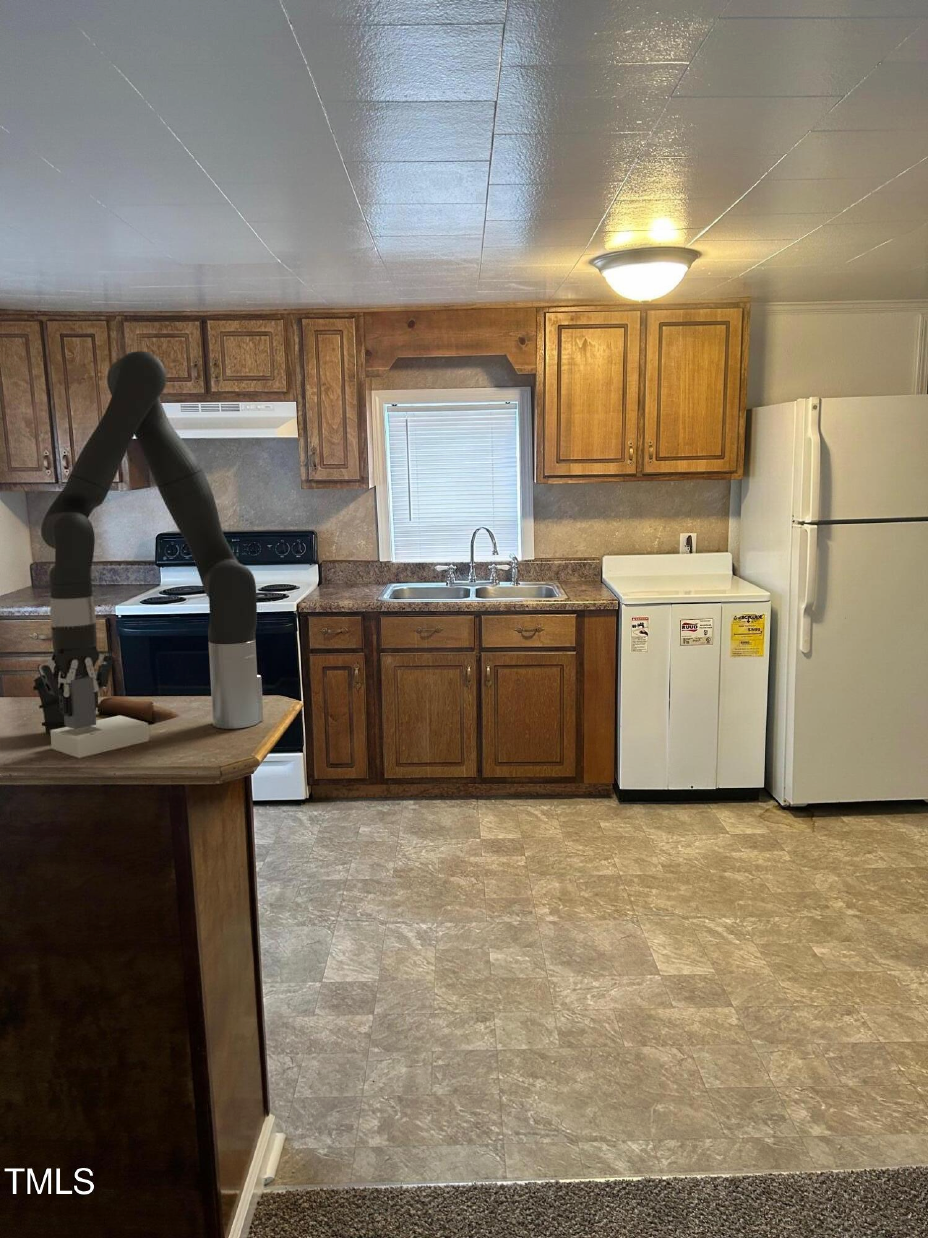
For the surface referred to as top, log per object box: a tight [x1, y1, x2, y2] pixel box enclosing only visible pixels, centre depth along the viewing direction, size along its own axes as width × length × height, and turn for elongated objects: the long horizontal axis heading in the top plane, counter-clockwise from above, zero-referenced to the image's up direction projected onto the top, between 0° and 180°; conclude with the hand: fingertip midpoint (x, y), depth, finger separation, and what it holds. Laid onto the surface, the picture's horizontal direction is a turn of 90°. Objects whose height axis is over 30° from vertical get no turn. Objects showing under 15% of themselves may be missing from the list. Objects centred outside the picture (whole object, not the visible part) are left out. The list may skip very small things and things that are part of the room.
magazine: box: [32, 666, 68, 735], centre depth 177 cm, size 4×13×15 cm, turn 58°
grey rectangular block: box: [64, 676, 97, 729], centre depth 167 cm, size 4×4×9 cm
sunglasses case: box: [96, 696, 181, 725], centre depth 193 cm, size 18×7×7 cm, turn 58°
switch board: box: [50, 715, 150, 759], centre depth 170 cm, size 14×10×4 cm
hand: (79, 713), depth 167 cm, fingers closed on grey rectangular block, 4 cm apart
